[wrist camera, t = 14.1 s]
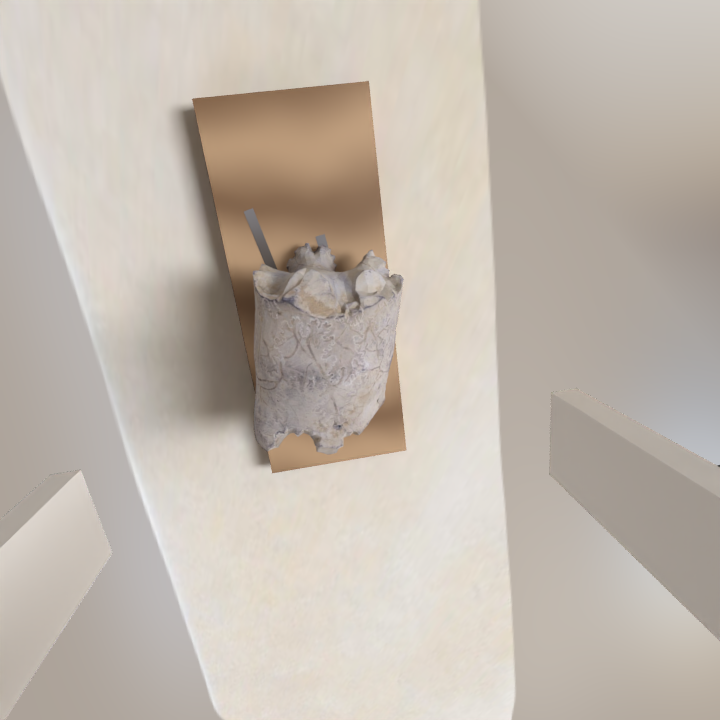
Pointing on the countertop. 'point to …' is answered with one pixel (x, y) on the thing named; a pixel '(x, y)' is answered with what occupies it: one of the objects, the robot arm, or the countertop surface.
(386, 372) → the stone
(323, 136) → the board
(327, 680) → the countertop surface
